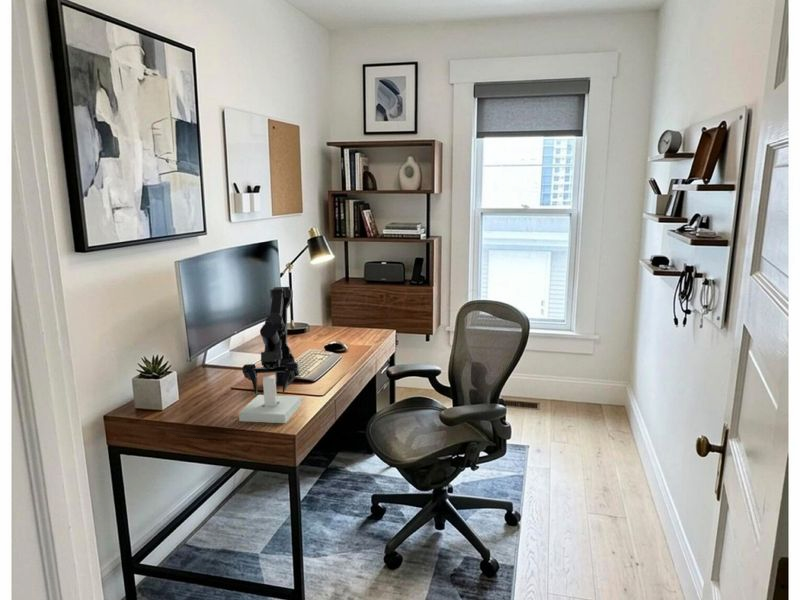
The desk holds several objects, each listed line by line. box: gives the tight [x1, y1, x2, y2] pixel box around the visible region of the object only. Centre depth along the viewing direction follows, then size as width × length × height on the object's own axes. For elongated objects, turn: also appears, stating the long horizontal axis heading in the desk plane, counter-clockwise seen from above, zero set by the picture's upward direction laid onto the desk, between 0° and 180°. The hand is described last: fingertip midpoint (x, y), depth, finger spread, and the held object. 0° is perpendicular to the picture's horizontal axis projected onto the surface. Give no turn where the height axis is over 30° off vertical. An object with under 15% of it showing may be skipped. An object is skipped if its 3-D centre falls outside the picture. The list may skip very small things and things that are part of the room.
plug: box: [262, 374, 278, 407], centre depth 182 cm, size 4×4×13 cm
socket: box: [238, 394, 302, 424], centre depth 183 cm, size 16×16×3 cm
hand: (269, 392), depth 181 cm, fingers open, 9 cm apart
